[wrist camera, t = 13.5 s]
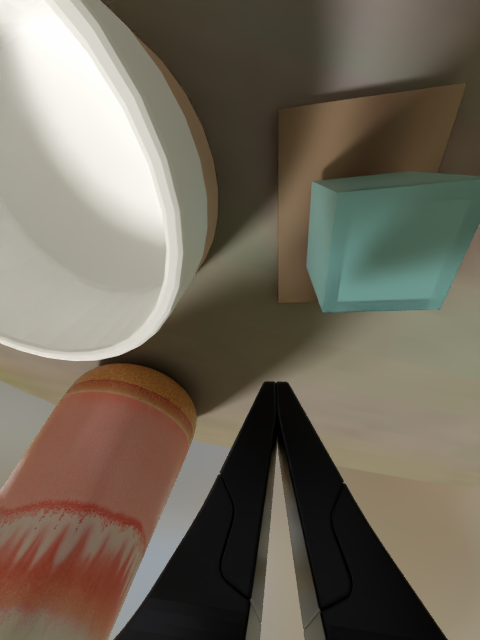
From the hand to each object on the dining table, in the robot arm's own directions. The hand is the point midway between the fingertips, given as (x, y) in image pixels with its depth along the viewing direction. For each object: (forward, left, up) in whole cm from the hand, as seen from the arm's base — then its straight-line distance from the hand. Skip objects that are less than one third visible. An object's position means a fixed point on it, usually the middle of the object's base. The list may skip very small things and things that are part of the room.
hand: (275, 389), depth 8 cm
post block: (-5, -3, -12) cm, 13 cm away
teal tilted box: (-5, -3, -10) cm, 12 cm away
